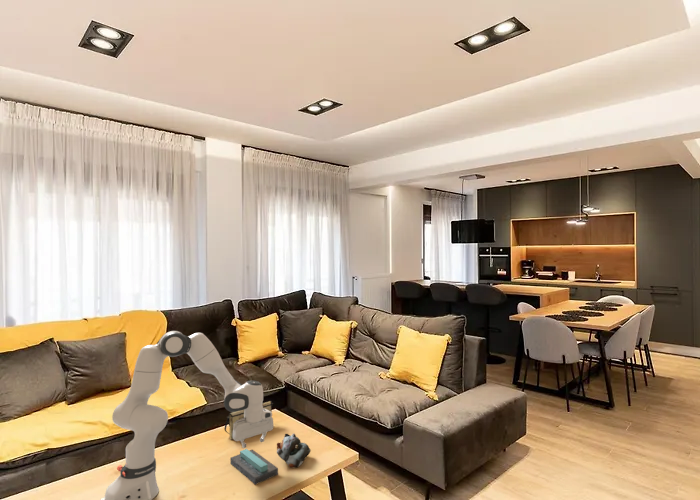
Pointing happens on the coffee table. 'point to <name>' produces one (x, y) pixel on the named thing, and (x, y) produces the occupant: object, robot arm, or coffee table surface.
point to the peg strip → (254, 460)
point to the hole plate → (250, 470)
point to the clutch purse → (242, 416)
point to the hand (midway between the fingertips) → (253, 444)
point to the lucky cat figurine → (292, 450)
